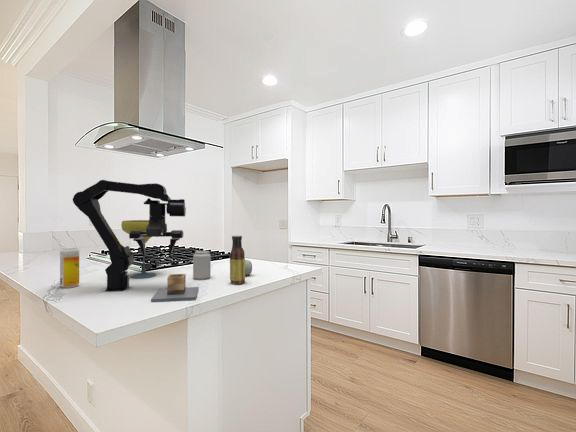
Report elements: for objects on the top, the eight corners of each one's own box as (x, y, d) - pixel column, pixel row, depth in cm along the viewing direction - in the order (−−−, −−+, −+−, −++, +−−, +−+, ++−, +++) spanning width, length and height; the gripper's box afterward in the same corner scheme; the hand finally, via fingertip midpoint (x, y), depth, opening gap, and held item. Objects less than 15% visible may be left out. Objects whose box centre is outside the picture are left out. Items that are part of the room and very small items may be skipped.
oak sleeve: (167, 294, 105) (167, 277, 105) (169, 290, 110) (169, 274, 110) (183, 294, 106) (183, 277, 106) (185, 290, 111) (185, 273, 111)
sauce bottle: (239, 280, 132) (239, 234, 132) (248, 283, 128) (248, 235, 127) (226, 283, 128) (226, 235, 127) (235, 285, 123) (235, 236, 123)
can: (205, 280, 132) (205, 252, 131) (189, 279, 133) (189, 252, 133) (213, 276, 139) (213, 250, 139) (198, 276, 141) (198, 249, 140)
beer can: (82, 285, 120) (82, 247, 120) (66, 289, 115) (66, 249, 114) (73, 283, 123) (73, 246, 123) (56, 287, 117) (56, 248, 117)
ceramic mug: (253, 276, 142) (253, 259, 142) (236, 278, 137) (236, 260, 137) (244, 272, 151) (244, 257, 151) (228, 274, 146) (228, 258, 146)
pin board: (151, 302, 100) (151, 283, 100) (159, 291, 114) (159, 274, 113) (195, 300, 103) (195, 282, 103) (198, 289, 117) (198, 273, 116)
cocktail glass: (116, 275, 140) (116, 220, 140) (157, 270, 152) (157, 220, 152) (127, 282, 127) (128, 221, 126) (171, 276, 139) (171, 221, 138)
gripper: (124, 216, 109) (124, 260, 109) (180, 217, 113) (179, 259, 113) (133, 216, 120) (133, 255, 120) (183, 216, 124) (183, 255, 124)
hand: (157, 256), depth 119 cm, fingers open, 9 cm apart
